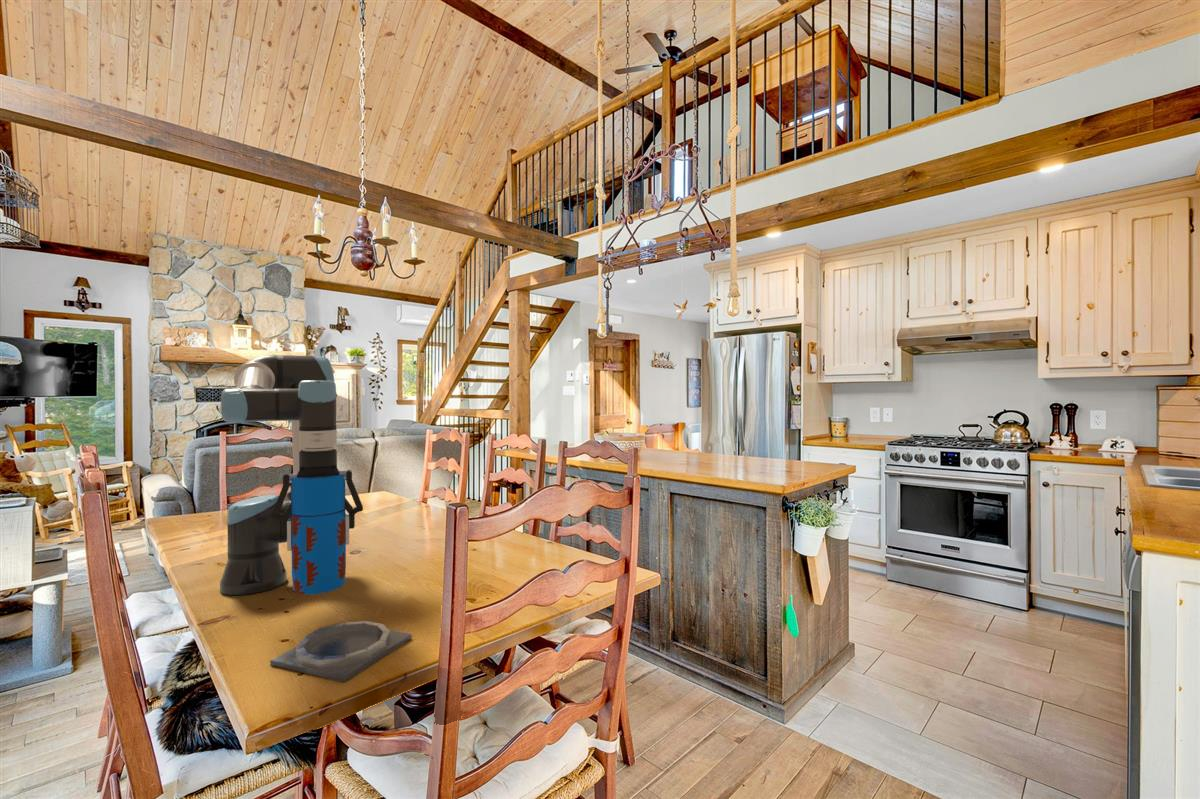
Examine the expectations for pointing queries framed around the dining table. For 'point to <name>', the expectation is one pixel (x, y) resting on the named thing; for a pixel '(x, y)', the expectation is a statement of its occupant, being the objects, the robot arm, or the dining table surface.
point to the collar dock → (341, 650)
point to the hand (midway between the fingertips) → (319, 546)
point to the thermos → (318, 534)
